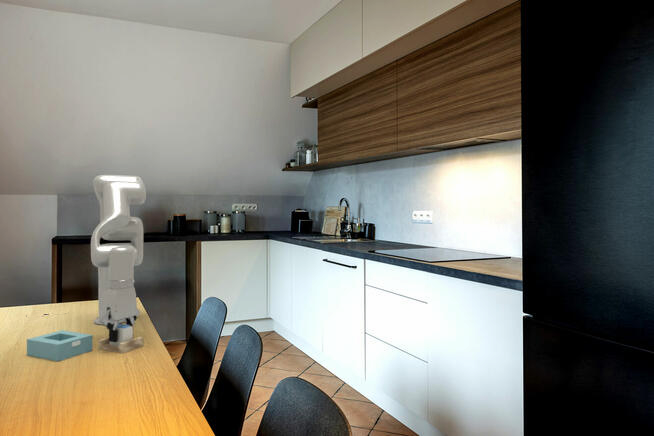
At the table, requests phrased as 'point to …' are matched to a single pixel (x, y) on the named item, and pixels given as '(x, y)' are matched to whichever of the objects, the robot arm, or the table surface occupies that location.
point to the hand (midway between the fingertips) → (121, 338)
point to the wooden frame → (121, 345)
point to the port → (59, 345)
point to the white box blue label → (123, 334)
